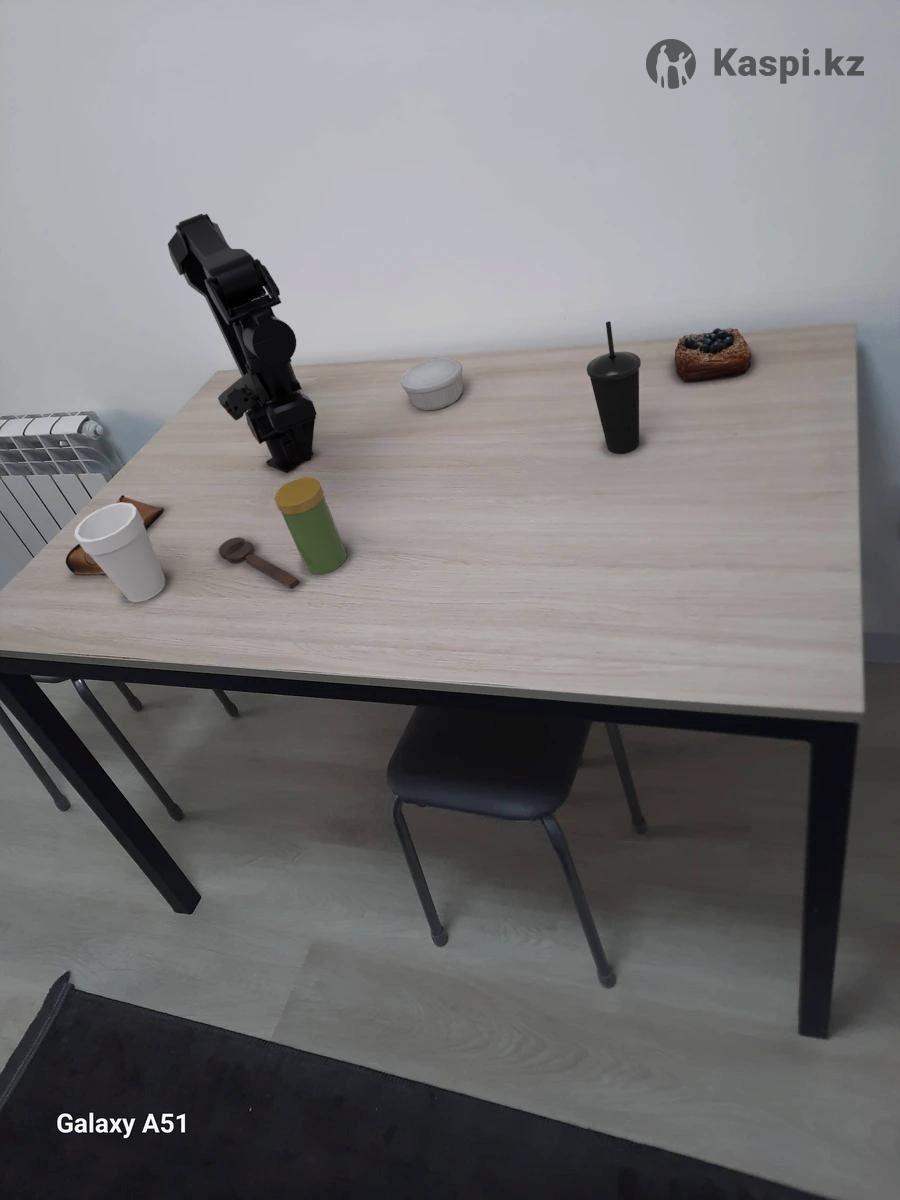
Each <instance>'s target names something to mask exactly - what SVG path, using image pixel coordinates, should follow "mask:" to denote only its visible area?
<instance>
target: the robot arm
mask: <svg viewBox="0 0 900 1200" xmlns="http://www.w3.org/2000/svg"><path fill="white" fill-rule="evenodd" d="M175 231H176V232H174V234H173V236H172V237H171V239H170V240H169V241H168V243H167V248H168V252H169V256H170V259H171V261H172V264H173V266H174V267H175V270H176V271H177V273H178V275H179V276H183V277H184V279H185V281H186V283H187V285H188V286H189V287H191V289H193V290H195V292H197V293H198V294H200V295H201V296H203V297H204V299H205V301H206V303H207V305H208V307H209V309H210V311H211V313H212V316H213V318H214V319H215V322H216V324H217V326H218V328H219V331H220V333H221V335H222V337H223V339H224V342H225V343H226V345H227V348H228V350H229V352H230V354H231V356H232V358H233V361H234V362H235V364H236V367H237V368H238V371H239V374H240V375H241V377H240V378H238V379H237V380H236V381H234V382H233V383H232V384H231V385H230V386H228V387H227V388H226V389H225V390H223V392H222V393H220V394H219V396H218V397H217V400H218V402H219V405H220V406H222V408H223V409H224V410H225V411H226V413H227V414H228V415H229V416H230V417H231V418H232V419H233V420H234V421H239V420H241V418H243V417H244V414H245V417H246V423H247V426H248V429H249V430H250V432H251V434H252V437H254V439H255V440H256V441H257V443H258V444H259V445H261V444H263V443H264V442H265V444H266V447H267V449H268V451H269V453H270V456H271V457H270V458H269V459H267V460H266V462H265V463H266V465H267V466H269V467H272V468H274V469H277V470H278V471H281V472H283V473H289V472H291V470H293V469H295V468H296V467H298V466H299V465H301V464H302V463H307V462H310V461H312V458H313V456H314V451H313V444H314V443H313V442H314V433H315V422H316V419H317V415H318V413H317V411H316V407H315V405H314V402H313V401H312V399H311V398H310V397H309V395H307V394H305V393H304V392H303V393H302V392H301V390H302V386H301V383H300V382H299V380H298V379H297V376H296V373H295V370H294V368H293V365H292V363H291V362H292V357H293V356H294V354H295V352H296V348H297V338H296V334H295V332H294V330H293V328H292V327H291V326H290V325H289V324H287V322H285V321H283V320H282V319H280V318H278V317H277V316H276V314H275V313H274V311H273V307H275V306H278V305H280V304H282V301H281V298H280V295H281V293H280V288H279V287H278V285H277V283H276V282H275V280H274V278H273V277H272V275H271V273H270V272H269V270H268V268H267V267H266V265H264V264H263V263H262V262H261V260H260V259H258V258H254V256H253V255H252V254H251V253H249V252H248V251H247V250H246V249H243V248H232V247H231V246H230V245H229V244H228V242H227V240H226V238H225V236H224V234H223V231H222V230H221V228H220V226H219V224H218V223H216V222H214V221H212V219H211V218H210V216H209V214H207V213H205V214H203V213H199V214H197V215H194V216H192V217H189V218H186V219H183V220H181V221H179V222H178V224H176V225H175Z"/></svg>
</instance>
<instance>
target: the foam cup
mask: <svg viewBox="0 0 900 1200" xmlns="http://www.w3.org/2000/svg"><path fill="white" fill-rule="evenodd" d="M143 523H144V521H143V519H142V517H141V515H140V514H139V512H138V510H137V508H136V507H135V506H134V505H133V504H132V503H123V502H121V503H117V502H116V503H111V504H108V505H105V506H103V507H100V508H98V509H96V510H94V511H93V512H91V513H90V514H89V515H87V516H85V517H84V518H83V519H81V521H80V522H79V523H78V525H76V527H75V530H74V534H73V536H74V538H75V539H76V541H77V542H78V544H80V545H81V547H82V548H83V550H84V551H85V552H86V553H87V554H89V555H90V556H91V557H92V558H93V559H94V561H95V562H96V563H97V564H98V565H99V566H100V567H101V569H102V570H103V571H104V572H105V573H106V574H105V575H106V576H107V577H108V578H109V579H110V580H111V582H112V583H113V584H114V585H115V586H116V587H117V588H118V590H120V592H121V593H122V594H123V595H124V596H125V597H126V599H127V600H128V601H129V602H133V603H140V602H145V601H147V600H149V599H152V598H154V597H155V596H156V595H158V594H159V593H160V592H161V591H162V590H163V589H164V587H165V586H166V578H165V574H164V572H163V569H162V567H161V564H160V561H159V559H158V557H157V555H156V552H155V549H154V547H153V544H152V541H151V539H150V536H149V534H148V532H147V529H145V527H144V524H143Z"/></svg>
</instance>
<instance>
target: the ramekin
mask: <svg viewBox="0 0 900 1200" xmlns="http://www.w3.org/2000/svg"><path fill="white" fill-rule="evenodd" d="M400 384H401V387H402V389H403V390H404V391H405V393H406V395H407V396H408V398H409V401H410V402H411V404H412V405H413V406H414V407H415V408H417V409H419V410H421V411H436V410H440V409H444V408H446V407H448V406H450V405H452V404H454V403H455V402H456V401H457V400H458V399H460V397H461V395H462V393H463V390H464V386H463V385H464V383H463V366H462V363H461V362H460V361H459V360H458V359H455V358H453V357H437V358H436V357H435V358H432V359H431V358H430V359H427V360H424V361H422V362H418V363H417V364H415V365H412V366H411V367H410V368H408V370H405V372H404V373H403V374H402V376H401V379H400Z"/></svg>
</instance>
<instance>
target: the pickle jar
mask: <svg viewBox="0 0 900 1200" xmlns="http://www.w3.org/2000/svg"><path fill="white" fill-rule="evenodd" d="M273 498H274V503H275V505H276V506H277V509H278V511H279V512H280V513H281V515H282V518H283V519H284V522H285V524H286V527H287V528H288V531H289V533H290V535H291V537H292V540H293V542H294V545H295V546H296V549H297V551H298V554H299V555H300V558H301V560H302V563H303V564H304V567H305V569H306V571H307V572H309V573H311V574H314V575H323V574H327V573H330V572H334V571H335V570H336V569H338V568H339V567H341V566H342V565H343V564H345V562H346V560H347V557H348V553H347V550H346V547H345V545H344V543H343V540H342V538H341V535H340V532H339V530H338V527H337V525H336V522H335V520H334V517H333V515H332V513H331V509H330V508H329V504H328V502H327V499H326V498H325V494H324V490H323V487H322V484H321V482H320V481H319V480H318V479H317V478H315V477H301V478H296V479H293V480H291V481H288V482H287V483H285V484H283V485H282V486H281V487H280V488H279V489H277V491H275V494H274V497H273Z"/></svg>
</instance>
